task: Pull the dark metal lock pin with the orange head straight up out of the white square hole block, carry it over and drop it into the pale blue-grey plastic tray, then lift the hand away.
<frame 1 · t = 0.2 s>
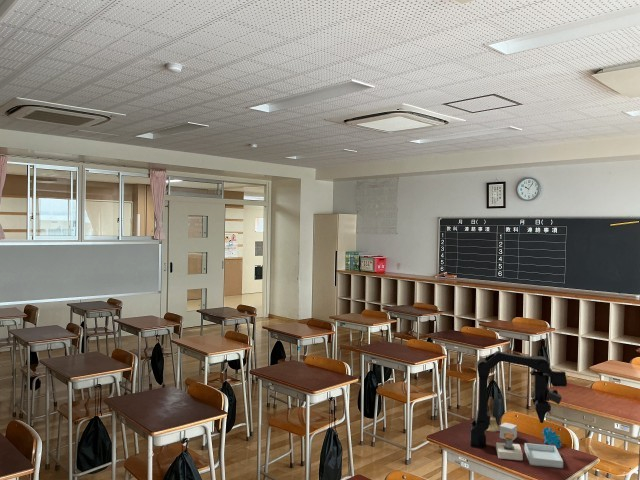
hand: (540, 419, 237), 14 cm above the table, tool pointing down, fingers open, 9 cm apart
gear: (552, 445, 243), on the table
lock pin: (509, 444, 233), in the white square hole block
white cube: (508, 438, 252), on the table
hand bell: (491, 429, 264), on the table
white square hole block: (509, 454, 233), on the table
parts tray: (543, 458, 229), on the table
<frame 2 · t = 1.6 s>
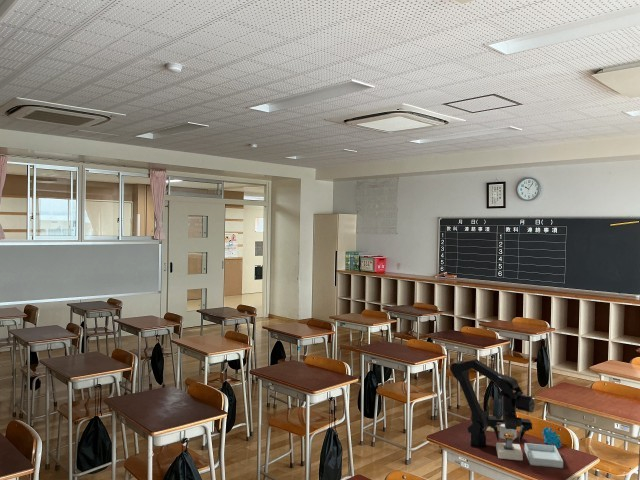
hand: (508, 441, 233), 6 cm above the table, tool pointing down, fingers open, 9 cm apart
nothing on the table moved.
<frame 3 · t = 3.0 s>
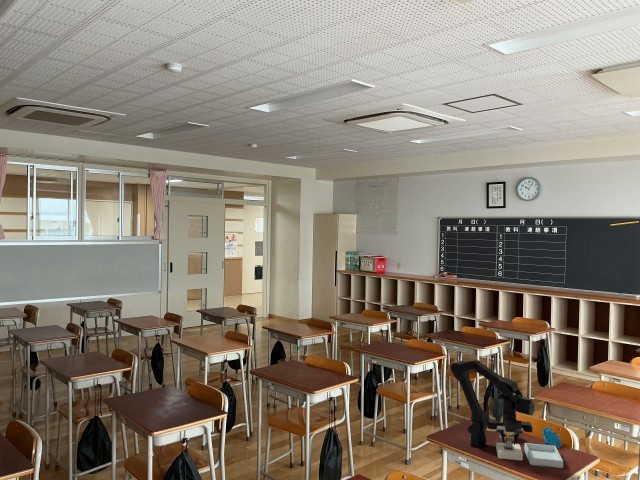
hand: (509, 444, 233), 5 cm above the table, tool pointing down, fingers closed on lock pin, 4 cm apart
lock pin: (509, 444, 233), in the white square hole block, touching gripper
everything else where it was.
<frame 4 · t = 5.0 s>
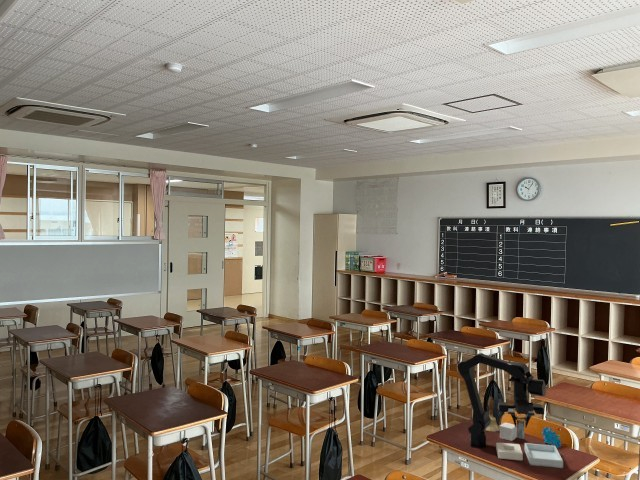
hand: (520, 427, 232), 13 cm above the table, tool pointing down, fingers closed on lock pin, 4 cm apart
lock pin: (520, 427, 232), point 13 cm above the table, touching gripper
everything else where it was.
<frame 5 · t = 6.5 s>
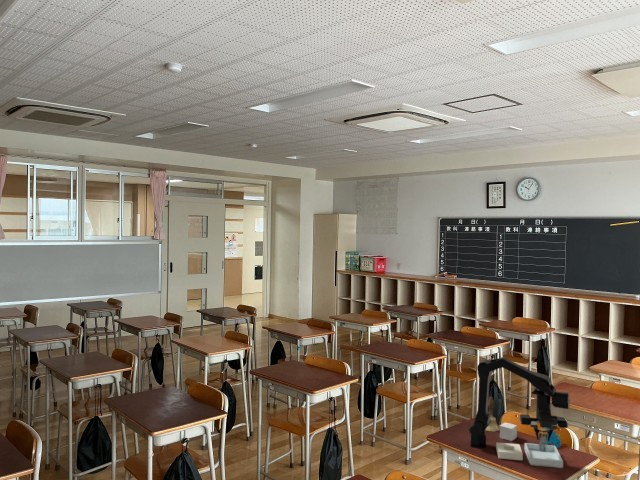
hand: (542, 440, 229), 8 cm above the table, tool pointing down, fingers closed on lock pin, 4 cm apart
lock pin: (542, 440, 229), point 8 cm above the table, touching gripper
everything else where it was.
when the fingers open (6 cm above the table, at t = 7.5 s): lock pin drops 1 cm, resting on parts tray.
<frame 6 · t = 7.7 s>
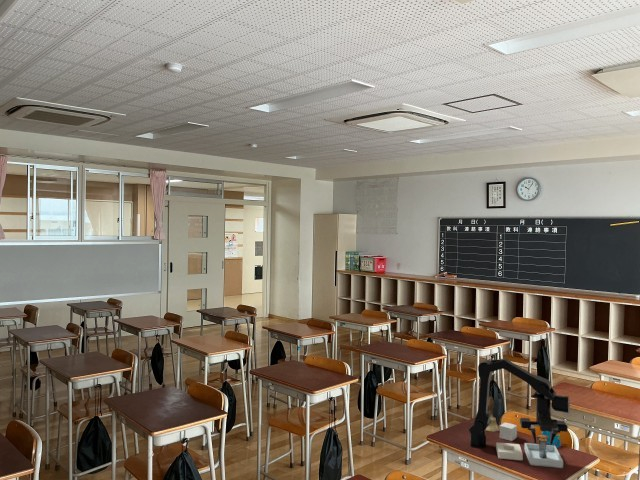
hand: (543, 443, 229), 6 cm above the table, tool pointing down, fingers open, 6 cm apart
lock pin: (542, 446, 229), in the parts tray, point 5 cm above the table
everything else where it was.
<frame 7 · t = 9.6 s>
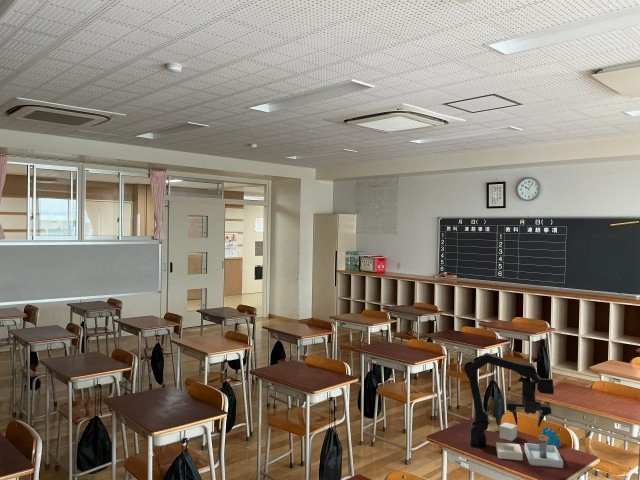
hand: (527, 425, 236), 12 cm above the table, tool pointing down, fingers open, 9 cm apart
nothing on the table moved.
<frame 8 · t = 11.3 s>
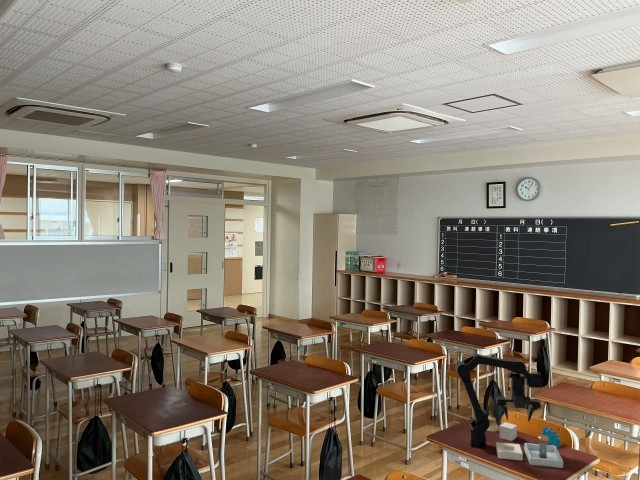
hand: (517, 420, 242), 12 cm above the table, tool pointing down, fingers open, 9 cm apart
nothing on the table moved.
at the end: lock pin inside the target area on the parts tray (0.0 cm from its centre), point 5.1 cm above the parts tray's base; the gripper is holding nothing; lock pin touching parts tray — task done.
